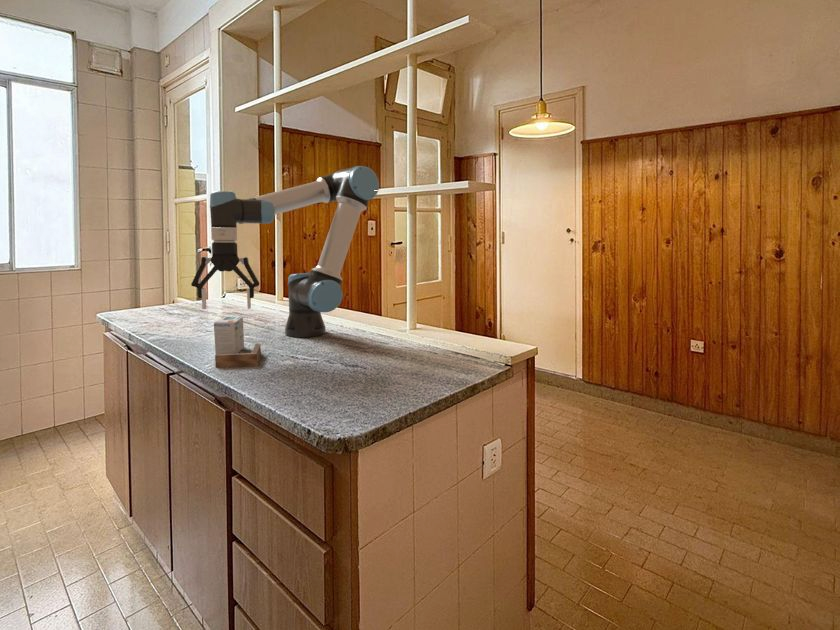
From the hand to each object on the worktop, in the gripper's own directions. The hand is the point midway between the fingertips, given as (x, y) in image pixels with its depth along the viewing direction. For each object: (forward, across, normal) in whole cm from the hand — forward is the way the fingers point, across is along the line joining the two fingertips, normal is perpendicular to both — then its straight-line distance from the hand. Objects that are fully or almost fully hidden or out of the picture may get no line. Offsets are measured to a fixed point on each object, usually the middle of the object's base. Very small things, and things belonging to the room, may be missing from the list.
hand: (227, 308), depth 166 cm
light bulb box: (+14, 0, 0) cm, 15 cm away
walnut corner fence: (+14, +4, -13) cm, 20 cm away
